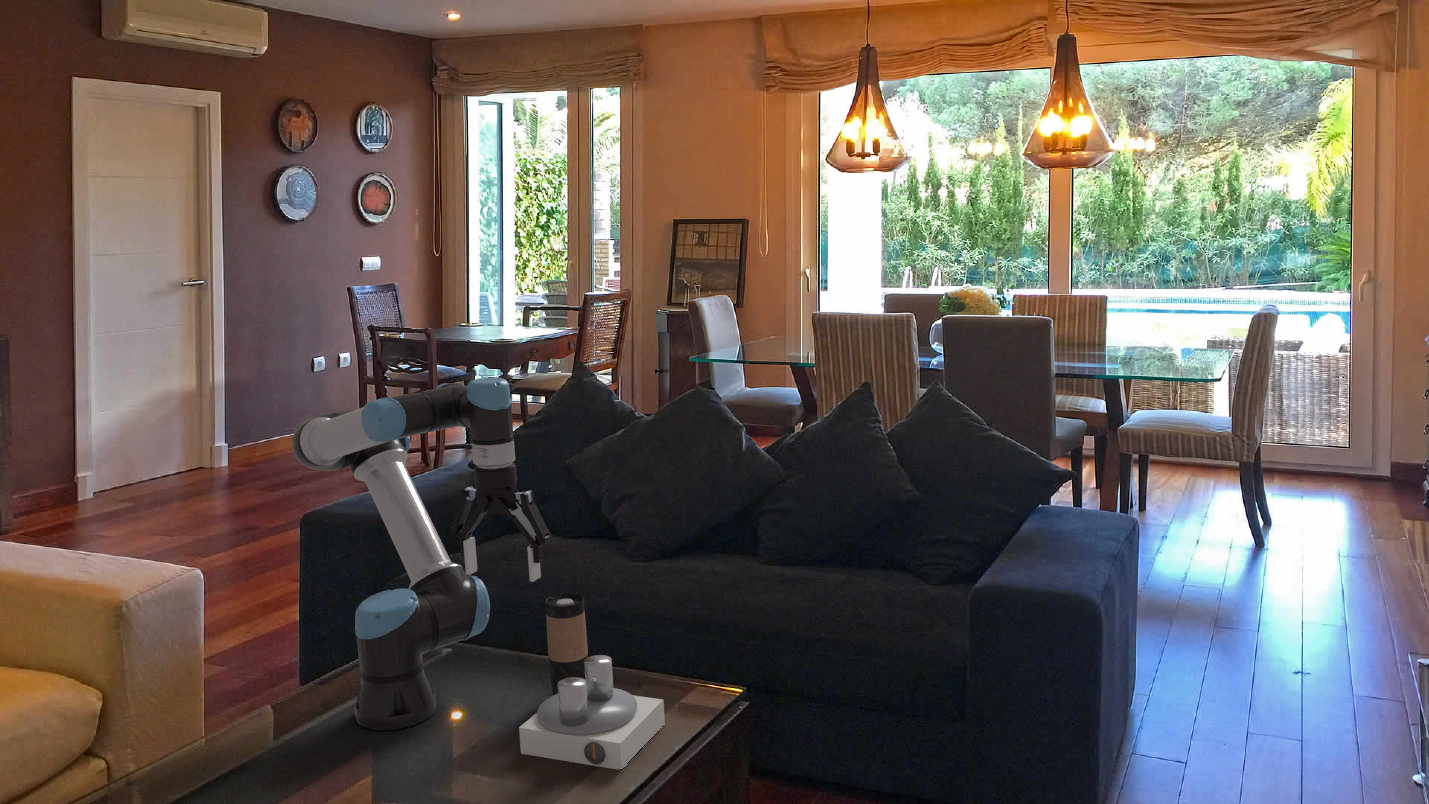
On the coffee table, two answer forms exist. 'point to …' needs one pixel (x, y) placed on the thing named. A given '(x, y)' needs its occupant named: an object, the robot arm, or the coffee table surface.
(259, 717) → the coffee table surface
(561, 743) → the scale
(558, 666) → the travel mug
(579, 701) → the cylinder
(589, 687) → the cylinder
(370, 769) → the coffee table surface
